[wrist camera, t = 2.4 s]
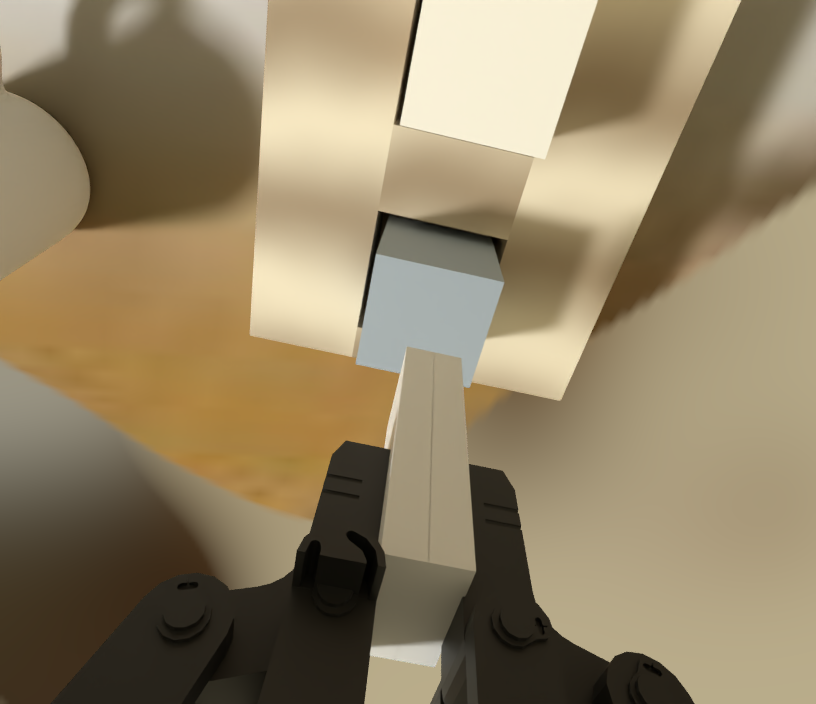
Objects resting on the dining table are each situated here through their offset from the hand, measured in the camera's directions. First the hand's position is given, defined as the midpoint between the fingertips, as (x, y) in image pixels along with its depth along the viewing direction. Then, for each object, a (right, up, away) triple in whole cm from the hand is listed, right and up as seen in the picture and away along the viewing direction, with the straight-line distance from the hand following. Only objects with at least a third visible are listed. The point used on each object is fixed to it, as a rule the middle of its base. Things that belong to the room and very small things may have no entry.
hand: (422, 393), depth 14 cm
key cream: (+2, +11, +3) cm, 12 cm away
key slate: (0, +4, +7) cm, 9 cm away
